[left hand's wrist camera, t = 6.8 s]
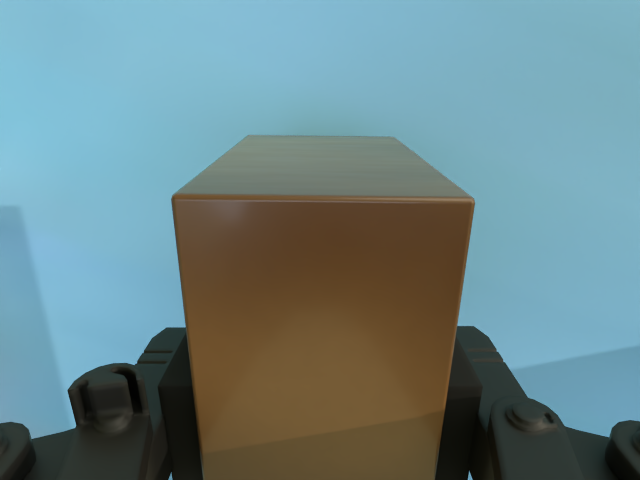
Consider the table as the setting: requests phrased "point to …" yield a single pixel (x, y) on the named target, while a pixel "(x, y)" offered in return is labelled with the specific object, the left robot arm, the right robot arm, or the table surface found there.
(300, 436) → the bar
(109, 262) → the table surface
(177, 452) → the left robot arm
